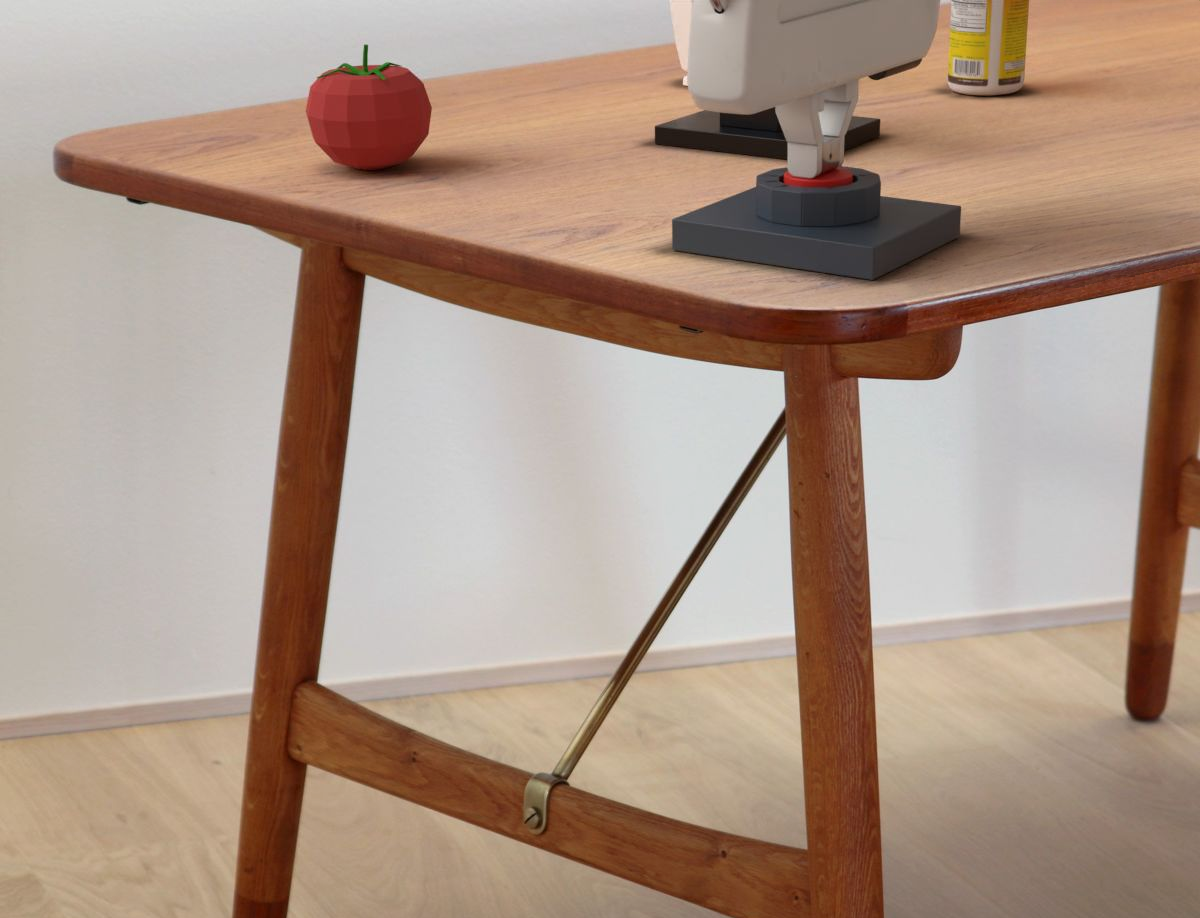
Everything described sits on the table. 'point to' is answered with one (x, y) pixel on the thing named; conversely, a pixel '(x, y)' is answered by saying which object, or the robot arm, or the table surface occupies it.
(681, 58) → the cup
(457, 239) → the table surface
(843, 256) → the block
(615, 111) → the table surface
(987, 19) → the supplement bottle
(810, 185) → the button
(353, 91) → the tomato
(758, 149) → the bracket
